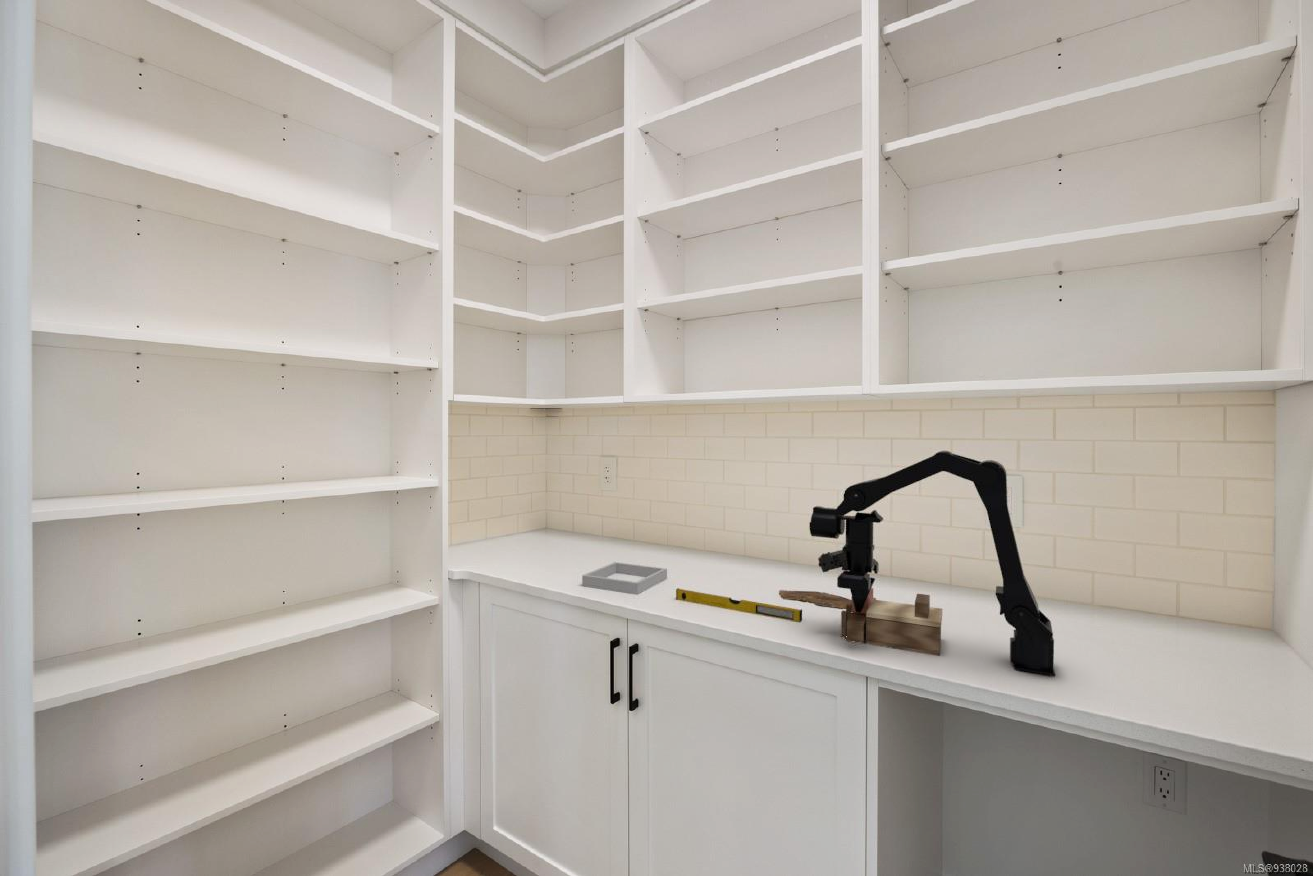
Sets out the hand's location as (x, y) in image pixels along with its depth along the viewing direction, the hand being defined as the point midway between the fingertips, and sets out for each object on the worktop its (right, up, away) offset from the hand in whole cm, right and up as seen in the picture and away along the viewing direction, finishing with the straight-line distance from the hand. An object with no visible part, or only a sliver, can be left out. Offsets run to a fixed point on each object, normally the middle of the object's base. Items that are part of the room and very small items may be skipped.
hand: (858, 611), depth 129 cm
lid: (+9, 0, -4) cm, 9 cm away
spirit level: (-24, -5, +18) cm, 31 cm away
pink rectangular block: (+3, -1, +6) cm, 6 cm away
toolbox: (+9, -5, +3) cm, 10 cm away
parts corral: (-53, -4, +43) cm, 68 cm away
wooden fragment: (0, -5, +26) cm, 26 cm away
